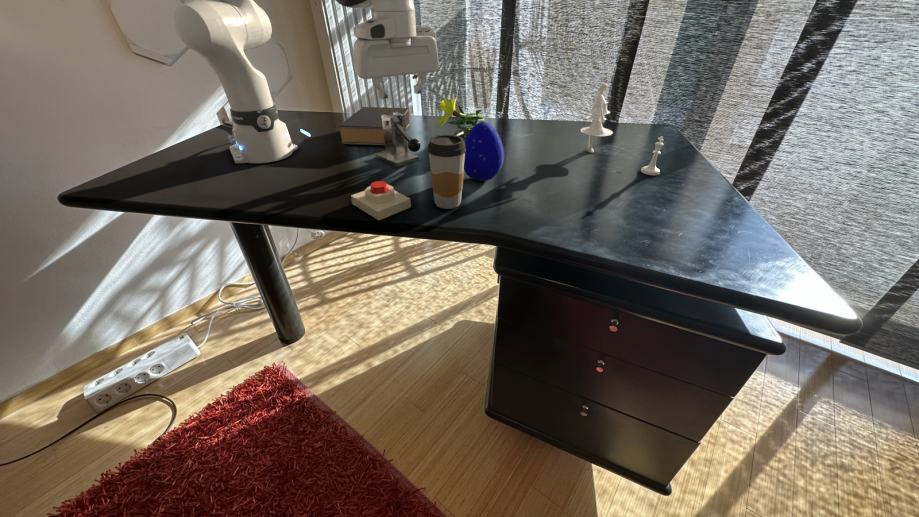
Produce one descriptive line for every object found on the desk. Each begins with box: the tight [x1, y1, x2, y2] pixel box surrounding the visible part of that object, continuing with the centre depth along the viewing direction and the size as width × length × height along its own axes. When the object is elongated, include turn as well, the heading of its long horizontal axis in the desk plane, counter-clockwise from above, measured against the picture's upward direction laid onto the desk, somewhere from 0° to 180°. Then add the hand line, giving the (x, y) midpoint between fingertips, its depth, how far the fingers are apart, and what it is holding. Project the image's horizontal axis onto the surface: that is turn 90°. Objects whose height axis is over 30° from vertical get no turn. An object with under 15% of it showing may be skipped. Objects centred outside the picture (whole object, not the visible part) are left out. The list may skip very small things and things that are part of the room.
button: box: [370, 180, 388, 194], centre depth 82 cm, size 4×4×2 cm
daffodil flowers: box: [435, 86, 490, 140], centre depth 116 cm, size 17×15×35 cm
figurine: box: [580, 82, 614, 154], centre depth 109 cm, size 13×10×20 cm
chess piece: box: [640, 135, 665, 176], centre depth 98 cm, size 5×5×10 cm
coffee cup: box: [427, 134, 466, 210], centre depth 81 cm, size 8×8×15 cm
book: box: [338, 106, 411, 146], centre depth 125 cm, size 17×25×7 cm
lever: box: [389, 114, 422, 153], centre depth 101 cm, size 13×4×4 cm, turn 45°
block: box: [350, 184, 412, 221], centre depth 83 cm, size 11×9×4 cm
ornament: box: [464, 121, 506, 182], centre depth 92 cm, size 11×9×15 cm
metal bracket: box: [375, 112, 420, 168], centre depth 105 cm, size 11×8×13 cm
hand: (401, 95), depth 86 cm, fingers open, 8 cm apart
